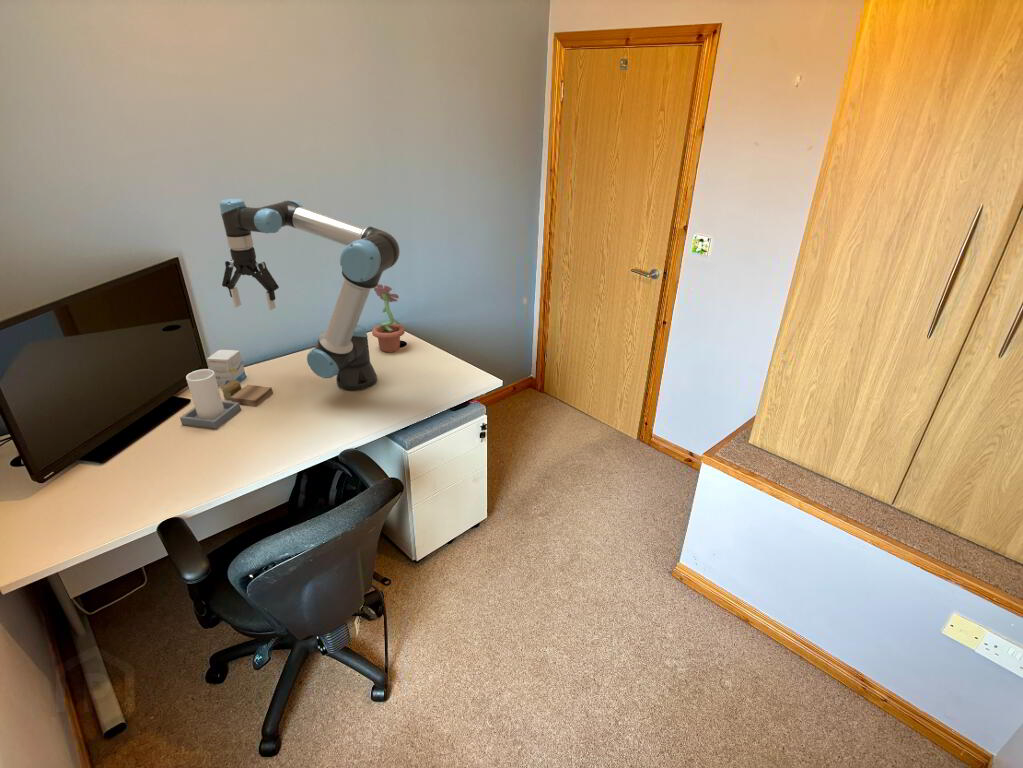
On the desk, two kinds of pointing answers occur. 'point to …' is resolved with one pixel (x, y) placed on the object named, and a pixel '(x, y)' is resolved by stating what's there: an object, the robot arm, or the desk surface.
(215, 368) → the ink box
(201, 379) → the cup
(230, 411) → the tray
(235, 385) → the bench dog
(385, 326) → the decorative flower
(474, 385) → the desk surface
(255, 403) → the brown wooden square block
